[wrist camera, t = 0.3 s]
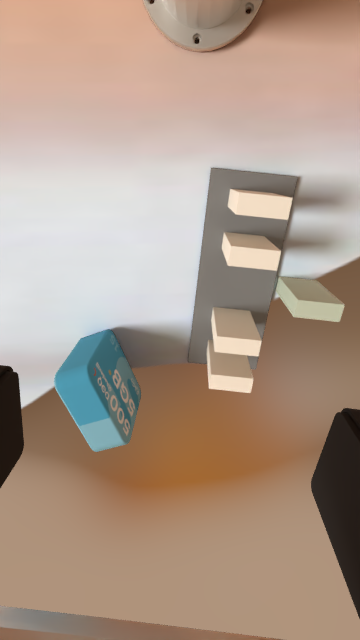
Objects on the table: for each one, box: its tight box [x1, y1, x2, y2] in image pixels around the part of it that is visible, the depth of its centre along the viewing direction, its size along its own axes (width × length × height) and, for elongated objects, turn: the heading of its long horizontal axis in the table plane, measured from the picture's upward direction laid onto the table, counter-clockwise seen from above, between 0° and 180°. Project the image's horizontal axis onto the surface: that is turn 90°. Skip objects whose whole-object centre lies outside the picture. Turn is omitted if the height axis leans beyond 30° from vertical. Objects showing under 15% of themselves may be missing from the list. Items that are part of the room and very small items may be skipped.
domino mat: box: [188, 168, 297, 369], centre depth 44 cm, size 26×10×1 cm, turn 175°
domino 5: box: [276, 277, 345, 322], centre depth 40 cm, size 2×5×9 cm, turn 85°
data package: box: [54, 330, 141, 452], centre depth 45 cm, size 12×4×12 cm, turn 20°
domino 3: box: [211, 307, 262, 356], centre depth 42 cm, size 2×5×9 cm, turn 85°
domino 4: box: [207, 340, 253, 393], centre depth 44 cm, size 2×5×9 cm, turn 85°
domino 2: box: [222, 232, 281, 271], centre depth 38 cm, size 2×5×9 cm, turn 85°
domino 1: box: [228, 189, 293, 220], centre depth 36 cm, size 2×5×9 cm, turn 85°
